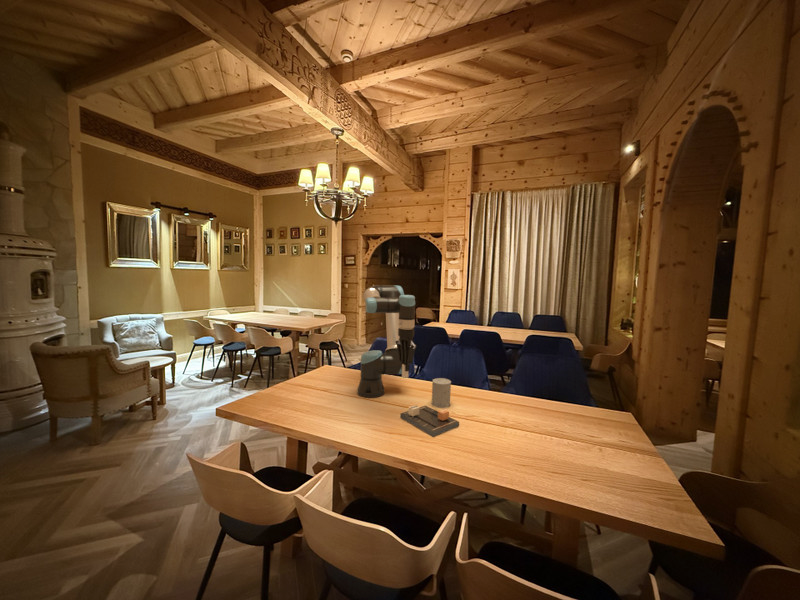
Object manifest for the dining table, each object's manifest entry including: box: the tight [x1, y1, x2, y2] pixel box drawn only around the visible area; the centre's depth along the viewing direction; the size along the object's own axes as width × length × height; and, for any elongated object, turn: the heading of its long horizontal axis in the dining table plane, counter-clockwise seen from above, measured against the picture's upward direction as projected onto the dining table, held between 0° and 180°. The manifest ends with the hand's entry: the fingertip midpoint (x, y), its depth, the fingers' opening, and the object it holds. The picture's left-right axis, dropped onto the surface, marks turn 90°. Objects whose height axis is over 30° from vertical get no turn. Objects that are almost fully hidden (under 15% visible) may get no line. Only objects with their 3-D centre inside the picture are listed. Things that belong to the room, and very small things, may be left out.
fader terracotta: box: [438, 408, 450, 421], centre depth 145 cm, size 3×4×4 cm
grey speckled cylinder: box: [431, 377, 452, 409], centre depth 166 cm, size 10×10×12 cm
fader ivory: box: [407, 405, 419, 416], centre depth 148 cm, size 3×4×4 cm
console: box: [399, 405, 460, 438], centre depth 146 cm, size 22×16×2 cm
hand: (405, 377), depth 152 cm, fingers closed
